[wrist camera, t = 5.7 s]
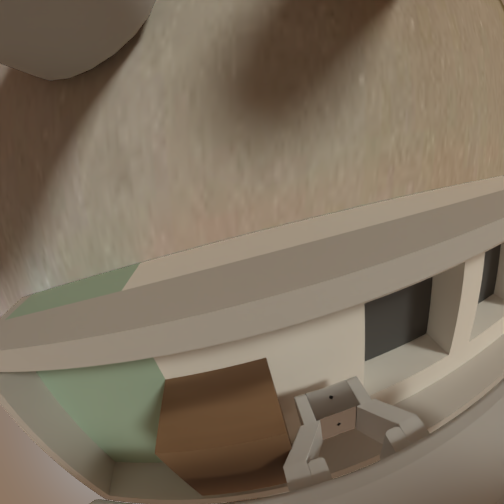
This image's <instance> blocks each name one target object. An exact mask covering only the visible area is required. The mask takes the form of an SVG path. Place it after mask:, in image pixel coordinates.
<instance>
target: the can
mask: <svg viewBox="0 0 504 504" xmlns="http://www.w3.org/2000/svg"><path fill="white" fill-rule="evenodd" d="M154 3H155V0H0V64H3V65H6V66H9V67H12V68H14V69H17V70H20V71H23V72H25V73H28V74H30V75H33V76H36V77H39V78H43V79H46V80H49V81H51V80H59V79H67V78H71V77H73V76H76V75H78V74H80V73H83V72H85V71H88V70H91V69H92V68H94V67H95V66H97V65H98V64H100V63H101V62H103V61H104V60H106V59H107V58H109V57H111V56H112V55H114V54H115V53H116V52H117V51H118V50H119V49H120V48H121V47H122V46H123V45H125V44H126V43H127V42H128V41H129V40H130V39H131V38H132V37H134V36H135V34H136V33H137V31H138V30H139V29H140V27H141V26H142V25H143V23H144V22H145V21H146V19H147V18H148V17H149V15H150V13H151V10H152V8H153V5H154Z"/></svg>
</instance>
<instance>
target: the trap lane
mask: <svg viewBox="0 0 504 504" xmlns="http://www.w3.org/2000/svg"><path fill="white" fill-rule="evenodd" d="M262 358H266V359H267V362H268V366H269V369H270V372H271V376H272V379H273V383H274V386H275V389H276V393H277V396H278V399H279V403H280V406H281V409H282V412H283V416H284V419H285V423H286V426H287V430H288V433H289V437H290V440H291V444H292V445H293V443H294V440H295V438H296V435H297V433H298V430H299V428H300V426H301V424H300V421H299V417H298V413H297V409H296V405H295V401H294V397H296V396H299V395H303V394H306V393H309V392H313V391H316V390H319V389H322V388H324V387H327V386H330V385H333V384H335V383H338V382H341V381H343V380H346V379H349V378H351V377H354V376H356V377H358V379H359V381H360V382H361V384H362V385H363V387H364V388H365V390H366V392H367V393H368V395H369V396H370V398H371V399H377V400H379V401H382V402H384V403H387V404H389V405H392V406H395V407H397V408H400V409H403V410H405V411H408V412H411V413H414V414H416V415H417V416H418V417H419V419H420V420H421V421H422V423H423V424H424V426H425V427H426V428H427V430H428V431H429V433H432V432H433V431H435V430H436V429H438V428H440V427H441V426H443V425H444V424H446V423H447V422H449V421H450V420H452V419H453V418H455V417H456V416H457V415H459V414H460V413H462V412H463V411H464V410H466V409H467V408H468V407H470V406H471V405H472V404H474V403H475V402H476V401H477V400H479V399H480V398H481V397H482V396H484V395H485V394H486V393H487V392H488V391H489V390H491V389H492V388H493V387H494V386H495V385H496V384H498V383H499V382H500V381H501V380H502V379H503V378H504V175H503V176H498V177H493V178H488V179H483V180H478V181H473V182H468V183H464V184H459V185H454V186H450V187H445V188H440V189H436V190H431V191H426V192H422V193H417V194H413V195H408V196H404V197H399V198H395V199H391V200H386V201H382V202H378V203H373V204H369V205H365V206H360V207H356V208H352V209H348V210H343V211H339V212H335V213H331V214H327V215H323V216H319V217H314V218H310V219H306V220H302V221H298V222H294V223H290V224H286V225H282V226H278V227H274V228H270V229H266V230H262V231H258V232H254V233H250V234H247V235H243V236H239V237H235V238H231V239H227V240H223V241H220V242H216V243H212V244H208V245H204V246H201V247H197V248H193V249H189V250H186V251H182V252H178V253H175V254H171V255H167V256H163V257H160V258H156V259H153V260H149V261H145V262H142V263H138V264H135V265H131V266H127V267H124V268H120V269H117V270H113V271H110V272H106V273H103V274H99V275H96V276H92V277H89V278H85V279H82V280H79V281H75V282H72V283H68V284H65V285H62V286H58V287H55V288H52V289H48V290H45V291H42V292H38V293H35V294H32V295H28V296H25V297H22V298H21V299H20V300H19V301H18V302H17V303H16V304H15V305H13V306H12V307H11V308H10V309H9V310H8V311H7V312H6V313H5V314H4V315H3V316H2V317H1V318H0V404H1V406H2V407H3V408H4V409H5V410H6V412H7V413H8V414H9V415H10V416H11V417H12V419H13V420H14V421H15V422H16V423H17V424H18V425H19V427H20V428H21V429H22V430H23V431H24V432H25V433H26V434H27V435H28V436H29V437H30V438H31V439H32V440H33V441H34V442H35V443H36V444H37V445H38V446H39V447H40V448H41V449H42V450H43V451H44V452H45V453H47V454H48V455H49V456H50V457H51V458H52V459H53V460H54V461H56V462H57V463H58V464H59V465H60V466H61V467H63V468H64V469H65V470H66V471H67V472H69V473H70V474H71V475H73V476H74V477H75V478H76V479H78V480H79V481H80V482H82V483H83V484H84V485H86V486H87V487H89V488H90V489H91V490H93V491H94V492H96V493H97V494H99V495H100V496H102V497H103V498H105V499H108V500H114V501H122V502H132V503H143V504H210V503H222V502H231V501H239V500H247V499H253V498H259V497H265V496H270V495H275V494H279V493H284V492H288V491H289V489H288V485H287V483H284V484H280V485H275V486H271V487H266V488H261V489H255V490H249V491H243V492H236V493H228V494H219V495H208V496H202V495H201V494H199V493H198V492H197V491H196V490H194V489H193V488H192V487H191V486H190V485H188V484H187V483H186V482H185V481H184V480H182V479H181V478H180V477H179V476H178V475H177V474H176V473H175V472H173V471H172V470H171V469H170V468H169V467H168V466H167V465H166V464H165V463H164V462H163V461H162V460H161V459H160V458H159V457H158V456H157V455H156V454H155V446H156V439H157V431H158V424H159V417H160V410H161V404H162V397H163V391H164V385H165V379H171V378H177V377H182V376H188V375H193V374H198V373H203V372H208V371H212V370H217V369H222V368H226V367H230V366H234V365H239V364H243V363H247V362H251V361H255V360H258V359H262ZM382 446H383V444H381V443H379V442H377V441H376V440H374V439H372V438H370V437H369V436H367V435H365V434H363V433H362V432H360V431H358V430H357V429H356V428H355V429H353V430H350V431H347V432H344V433H341V434H339V435H336V436H333V437H331V438H328V439H325V440H323V443H322V446H321V450H320V453H319V457H318V458H320V457H321V458H325V461H326V463H327V466H328V468H329V471H330V473H331V476H332V479H333V478H336V477H339V476H342V475H345V474H347V473H350V472H353V471H355V470H358V469H360V468H363V467H365V466H367V465H370V464H372V463H374V462H377V461H379V460H380V458H379V456H380V453H381V449H382Z"/></svg>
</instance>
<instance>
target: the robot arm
mask: <svg viewBox="0 0 504 504" xmlns="http://www.w3.org/2000/svg"><path fill="white" fill-rule="evenodd" d="M294 401H295V405H296V409H297V413H298V417H299V421H300V424H301V426H300V428H299V430H298V433H297V435H296V438H295V440H294V443H293V445H292V449H291V450H290V452H289V455H288V457H287V459H286V462H285V464H284V466H283V469H284V473H285V477H286V481H287V485H288V489H289V492H286V493H282V494H277V495H273V496H268V497H262V498H257V499H251V500H244V501H237V502H229V503H219V504H504V378H503V379H502V380H501V381H500V382H499V383H498V384H496V385H495V386H494V387H493V388H492V389H491V390H489V391H488V392H487V393H486V394H485V395H484V396H482V397H481V398H480V399H479V400H477V401H476V402H475V403H474V404H472V405H471V406H470V407H468V408H467V409H466V410H464V411H463V412H462V413H460V414H459V415H457V416H456V417H455V418H453V419H452V420H450V421H449V422H447V423H446V424H444V425H443V426H441V427H440V428H438V429H436V430H435V431H433V432H432V433H429V431H428V430H427V428H426V427H425V426H424V424H423V423H422V421H421V420H420V419H419V417H418V416H417V415H416V414H414V413H411V412H408V411H405V410H403V409H400V408H397V407H395V406H392V405H389V404H387V403H384V402H382V401H379V400H377V399H371V398H370V396H369V395H368V393H367V392H366V390H365V388H364V387H363V385H362V384H361V382H360V381H359V379H358V377H356V376H354V377H351V378H349V379H346V380H343V381H341V382H338V383H335V384H333V385H330V386H327V387H324V388H322V389H319V390H316V391H313V392H309V393H306V394H303V395H299V396H296V397H294ZM355 428H356V429H357V430H358V431H360V432H362V433H363V434H365V435H367V436H369V437H370V438H372V439H374V440H376V441H377V442H379V443H381V444H383V446H382V449H381V453H380V456H379V458H380V460H379V461H377V462H375V463H373V464H370V465H368V466H366V467H363V468H361V469H358V470H356V471H353V472H351V473H348V474H346V475H343V476H340V477H337V478H334V479H332V476H331V473H330V471H329V468H328V466H327V463H326V461H325V458H321V457H320V458H318V457H319V453H320V450H321V446H322V443H323V440H325V439H328V438H331V437H333V436H336V435H339V434H341V433H344V432H347V431H350V430H353V429H355ZM90 504H132V503H122V502H115V501H108V500H99V499H98V500H94V501H93V502H91V503H90Z"/></svg>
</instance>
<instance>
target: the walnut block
mask: <svg viewBox="0 0 504 504" xmlns="http://www.w3.org/2000/svg"><path fill="white" fill-rule="evenodd" d="M291 449H292V444H291V440H290V437H289V433H288V430H287V426H286V423H285V419H284V416H283V412H282V409H281V406H280V403H279V399H278V396H277V393H276V389H275V386H274V383H273V379H272V376H271V372H270V369H269V366H268V362H267V359H266V358H262V359H258V360H255V361H251V362H247V363H243V364H239V365H234V366H230V367H226V368H222V369H217V370H212V371H208V372H203V373H198V374H193V375H188V376H182V377H177V378H171V379H165V385H164V391H163V397H162V404H161V410H160V417H159V424H158V431H157V439H156V446H155V454H156V455H157V456H158V457H159V458H160V459H161V460H162V461H163V462H164V463H165V464H166V465H167V466H168V467H169V468H170V469H171V470H172V471H173V472H175V473H176V474H177V475H178V476H179V477H180V478H181V479H182V480H184V481H185V482H186V483H187V484H188V485H190V486H191V487H192V488H193V489H194V490H196V491H197V492H198V493H199V494H201V495H202V496H208V495H219V494H228V493H236V492H243V491H249V490H255V489H261V488H266V487H271V486H275V485H280V484H284V483H287V481H286V477H285V473H284V469H283V466H284V464H285V462H286V459H287V457H288V455H289V452H290V450H291Z"/></svg>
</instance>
